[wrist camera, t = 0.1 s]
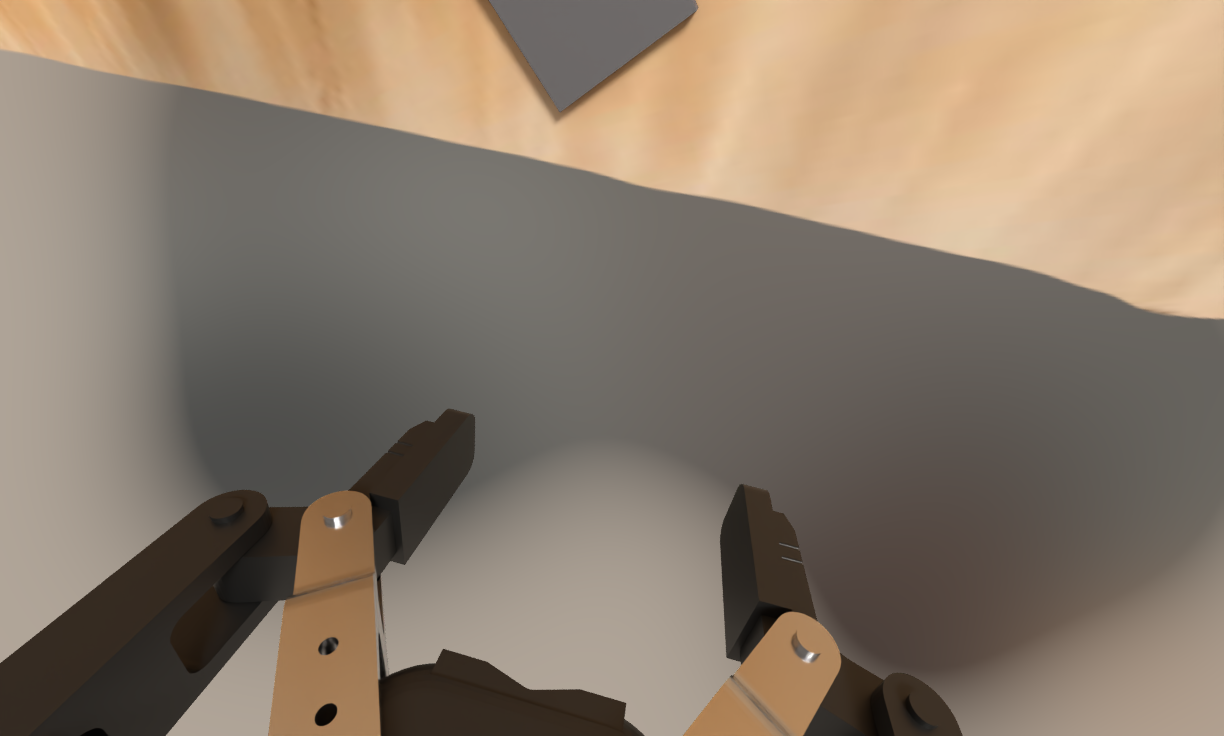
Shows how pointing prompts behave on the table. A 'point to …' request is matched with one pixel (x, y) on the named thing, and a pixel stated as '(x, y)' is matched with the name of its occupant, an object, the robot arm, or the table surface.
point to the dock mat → (585, 37)
